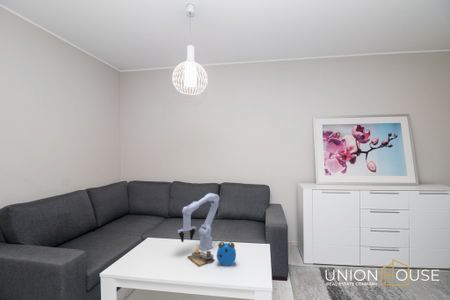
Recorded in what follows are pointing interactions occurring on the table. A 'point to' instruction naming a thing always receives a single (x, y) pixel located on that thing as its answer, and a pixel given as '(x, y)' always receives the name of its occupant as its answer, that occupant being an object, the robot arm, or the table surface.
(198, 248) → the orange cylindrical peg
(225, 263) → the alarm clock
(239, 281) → the table surface
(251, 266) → the table surface
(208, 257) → the wooden board with socket
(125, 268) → the table surface
